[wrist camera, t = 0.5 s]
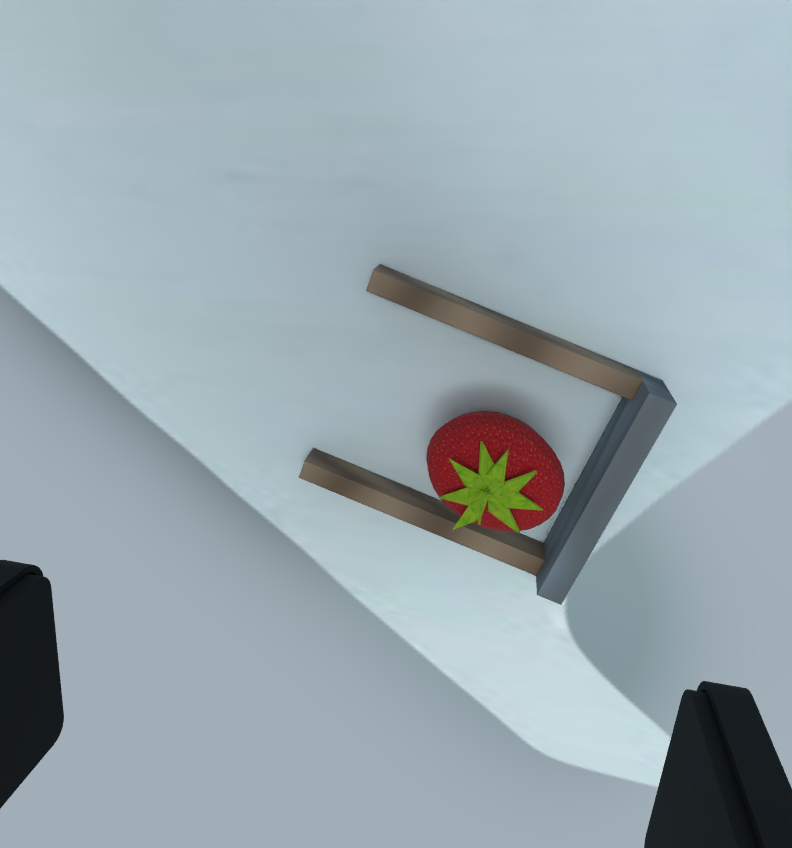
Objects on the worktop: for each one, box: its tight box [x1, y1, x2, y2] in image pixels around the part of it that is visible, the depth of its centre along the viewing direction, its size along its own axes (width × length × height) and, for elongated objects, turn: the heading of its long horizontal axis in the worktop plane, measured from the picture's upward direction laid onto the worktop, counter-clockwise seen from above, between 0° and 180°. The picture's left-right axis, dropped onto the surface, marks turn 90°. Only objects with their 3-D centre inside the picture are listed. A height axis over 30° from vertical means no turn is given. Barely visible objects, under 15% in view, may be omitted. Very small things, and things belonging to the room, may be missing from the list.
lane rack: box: [299, 264, 677, 605], centre depth 41 cm, size 17×13×4 cm
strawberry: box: [426, 411, 565, 533], centre depth 38 cm, size 6×8×10 cm
